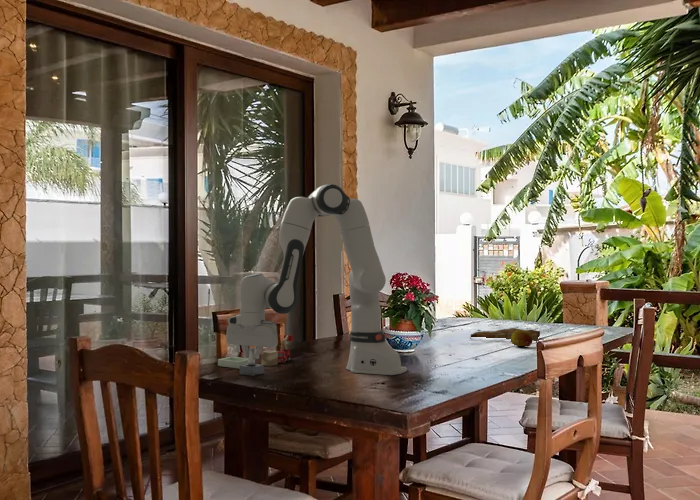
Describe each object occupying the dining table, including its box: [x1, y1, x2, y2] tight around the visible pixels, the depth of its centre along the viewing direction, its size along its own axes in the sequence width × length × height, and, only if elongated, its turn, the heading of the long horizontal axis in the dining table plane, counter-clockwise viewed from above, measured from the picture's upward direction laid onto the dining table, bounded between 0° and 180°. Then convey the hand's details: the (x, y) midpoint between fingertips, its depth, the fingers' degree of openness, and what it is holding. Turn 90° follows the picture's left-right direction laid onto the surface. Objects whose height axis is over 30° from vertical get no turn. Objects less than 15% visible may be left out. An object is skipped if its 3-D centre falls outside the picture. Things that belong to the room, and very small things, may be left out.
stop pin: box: [247, 347, 256, 366], centre depth 248 cm, size 2×2×9 cm
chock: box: [260, 349, 279, 367], centre depth 268 cm, size 4×5×5 cm
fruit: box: [510, 330, 533, 347], centre depth 322 cm, size 10×9×8 cm
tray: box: [217, 356, 248, 370], centre depth 264 cm, size 10×8×2 cm
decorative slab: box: [470, 327, 541, 341], centre depth 352 cm, size 32×22×5 cm
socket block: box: [239, 363, 265, 377], centre depth 248 cm, size 6×6×3 cm
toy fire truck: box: [277, 334, 295, 364], centre depth 278 cm, size 3×14×10 cm, turn 168°
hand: (251, 358), depth 248 cm, fingers closed on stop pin, 2 cm apart
